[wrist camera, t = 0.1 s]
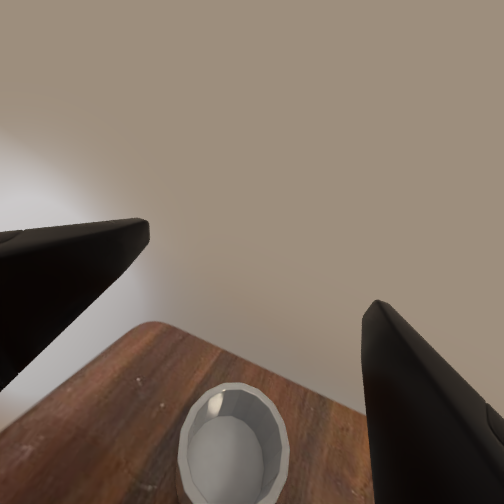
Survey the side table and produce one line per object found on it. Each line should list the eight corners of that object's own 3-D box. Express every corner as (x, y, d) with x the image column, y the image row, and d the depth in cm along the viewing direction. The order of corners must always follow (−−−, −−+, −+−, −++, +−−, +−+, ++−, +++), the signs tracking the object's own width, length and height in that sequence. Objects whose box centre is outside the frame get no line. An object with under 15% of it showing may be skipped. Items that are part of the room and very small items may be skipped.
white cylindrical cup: (255, 561, 13) (280, 553, 10) (154, 510, 14) (152, 491, 11) (275, 430, 19) (294, 403, 16) (202, 399, 19) (208, 368, 17)
